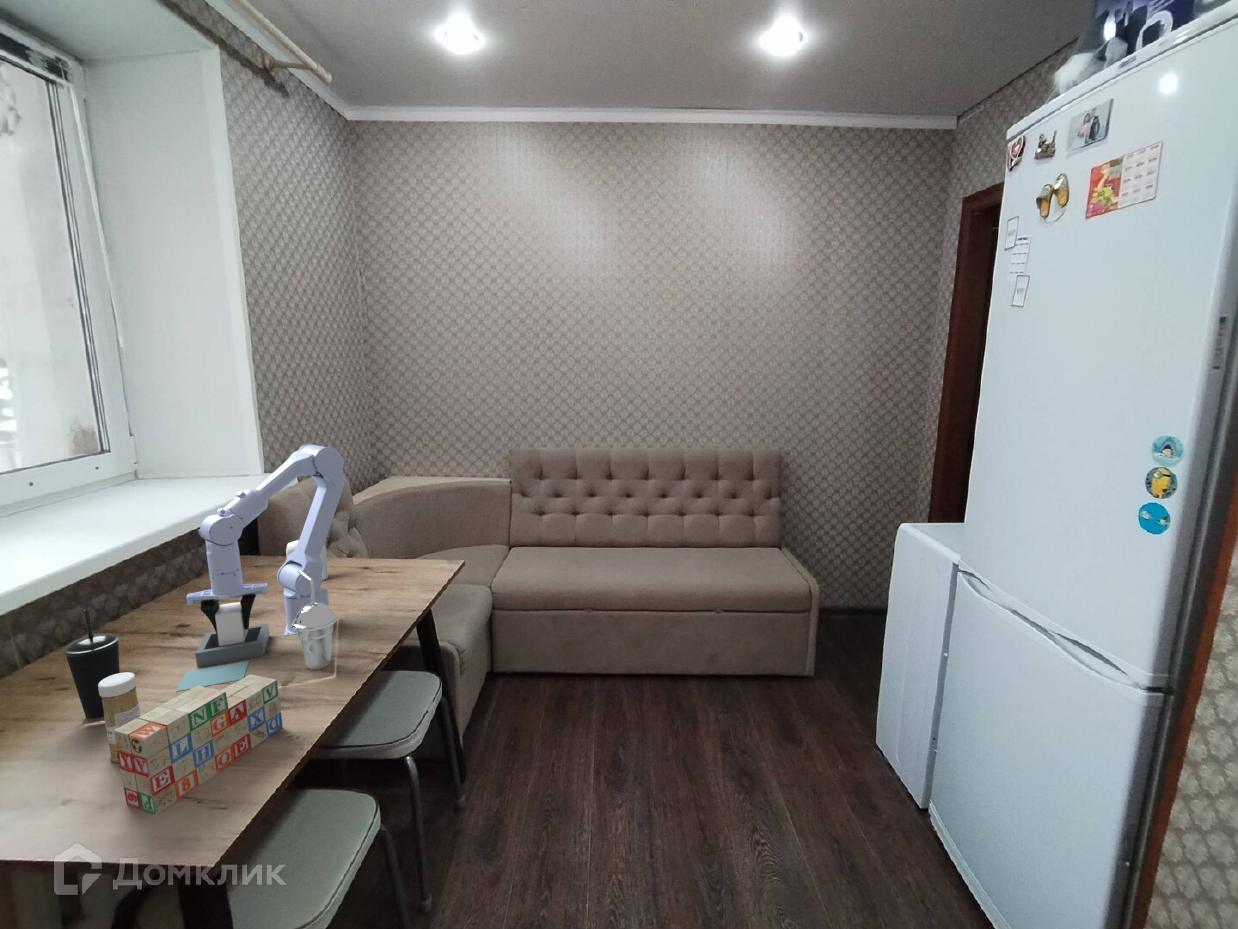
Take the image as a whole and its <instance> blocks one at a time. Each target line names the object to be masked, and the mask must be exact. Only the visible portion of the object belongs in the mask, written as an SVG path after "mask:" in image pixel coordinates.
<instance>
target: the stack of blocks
mask: <svg viewBox="0 0 1238 929" xmlns="http://www.w3.org/2000/svg"><path fill="white" fill-rule="evenodd" d="M278 687H279V686H278V680H277V679H274V678H271V677H267V676H261V675H255V674H251V673H250V674H248V675H247V676H244V678H243V679H241V680H238V681H235V682H234V683H232V684H230V685H228V686H227V687H225V688H222V689H221V690H220V689H216V688H210V687H207V686H206V687H202V686H196V687H194V688H192V689H190V690H185V692H183V693H182V694H179V695H178V696H176V697H174V698H172V699H169V700H168V701H167V702H164V703H163V704H161V705H159V706H157V707H155V708H154V709H152V710H150V711H148V712H147V713H146V712H145V713H144V714H141V715H140V717H139V718H137V719H134V720H132V721H130V722H128V723H127V724H125V725H123V726H121V727H119V728H117V729H115V730H114V734H115V739H116V745H117V750H116V752H117V757H118V762H117V763H118V767H119V770H120V775H121V780H122V783H123V784H122V785H123V791H124V797H125V803H126V805H127V806H130V807H133V808H135V809H138V810H142V811H145V812H148V813H151V814H154V815H157V814H159V813H161V812H162V811H164V810H165V809H167V808H168V807H170V805H172V804H174V803H175V802H177V801H179V800H180V799H182V798H183V797H184V796H186V795H187V794H190V792H192V791H194V790H195V789H196V788H198V787H199V786H200V785H202V784H203V783H205V782H206V781H208V780H210V779H211V778H212V777H214V776H215V775H217V774H218V773H219V772H220V771H222V770H223V769H224V768H226V767H227V766H229V765H230V764H233V762H234V761H236V760H237V759H239V758H240V757H242V756H243V755H244V754H246V753H247V752H249V751H250V750H251V749H252V750H253V748H255V747H257V746H258V745H260V744H261V743H262V742H264V741H265V740H267V739H268V738H270V737H271V736H272V735H274V734H276V732H278V731H279V730H281V729H283V726H284V725H283V719H282V718H283V717H282V711H281V710H282V706H281V699H280V695H279V688H278Z"/></svg>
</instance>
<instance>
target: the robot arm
mask: <svg viewBox="0 0 1238 929" xmlns="http://www.w3.org/2000/svg"><path fill="white" fill-rule="evenodd" d="M344 464H345V459H344V458H343V456H342V455H341V454H340V452H339V451H338V449H336V448H334V447H333V446H332V447H331V446H322V445H316V444H313V443H306V444H303V445H302V446H300V447H299V448H298V450H296V451H294V452H292V453H291V455H289V457H288V459H286V460H285V462H283V464H281V465H279V467H278V468H277V469H276V470H274V472H272V473H271V474H270V475H269V476H268V477H267V478H265V480H263V482H262V483H260V485H259V486H258V487H256V488H255V489H254V488H249V489H248V488H247V489H245V490H244V491H242V490H239V491H238V492H237V493H236V494H235V496H236V497H235V498H234V499H233V500H232V501H230V502H229V503H228V504H226V505H225V506H224V507H223V508H222V507H221V508H219V509H217V511H216V512H217V513H215V514H212V515H209V516H207V517H206V518H204V520H203V521H202V522H201V525H200V528H199V529H198V535H199V536H200V537H201V538H202V539H204V540H205V541H204V542H205V549H206V558H207V566H208V573H209V574H208V575H209V581H210V589H209V588H208V589H205V590H201V591H197V592H191V593H190V592H189V593H188V594H187V595H186V597H185V598H186V605H187V606H193V605H195V604H199V603H200V611H201V612H202V613H203V614H204V615H205V616H206V618H207V619H208V620H209V622H210V623H211V625H212V626H213V629H214V632H216V634H218V633H217V626H216V619H215V615H216V613H217V611H218V609H219V607H220V601H223V600H229V599H235V598H241V599H240V601H239V602H240V604H241V608H242V613H243V625H244V630H245V629H248V628H249V626H250V617H251V612H252V609H253V606H254V602H255V600H256V597H257V595H262V596H263V595H264V596H265V595H268V593H269V589H268V588H269V587H268V586H269V585H268V583H267V582H266V583H245V584H244V580H243V571H242V565H241V556H240V555H241V554H240V548H239V542H238V540H239V539H240V538H241V537H242V533H243V530H244V528H246V527H247V526H248V525H249V524H250V523H252V522H253V520H255V519H256V518H257V517H258V516H260V515H261V514H262V513H263V512H264V511H265V510H266V509H268V506H269V500H270V499H271V498H273V497H274V495H277V493H279V492H280V491H281V490H283V489H284V488H286V487H287V486H288V485H289V484H291V483H292V482H293V481H295V480H296V479H297V478H299V477H308V476H310V477H311V478H312V479H313V481H314V482H315V483H316V485H317V487H316V491H315V493H314V497H313V500H312V503H311V504H310V509H309V511H308V514H307V517H306V520H305V522H304V525H303V528H302V531H301V533H300V537H299V539H298V540H299V542H298V545H297V547H296V550H295V551H293V552H292V553H291V554H290V555H288V557H287V556H286V560H285V562H284V563H283V564H282V566H280V568H279V569H278V570H277V573H276V574H277V575H276V579H277V582H278V584H279V585H280V586H281V587H283V599H284V601H283V602H284V610H285V619H286V626H285V629H284V633H283V636H285V637H286V636H293V635H297V631H295V630H293V629H292V622H293V620H294V619H295V618H296V616H297V614H298V612H299V610H300V609H301V608H302V607H304V606H305V605H307V604H309V603H312V600H311V590H310V582H309V581H308V580H307V579H306V578H304V577H303V576H302V575H300V574H299V573H298V570H301V571H303V572H304V573H305V574H307V575H308V576H309V577H310V578H312V580H313V582H314V591H315V602H320V603H324V604H326V605H327V606H328V607H329V608H330V599H329V591H328V588H321V586H322V585H323V584H322V583H323V580H322V569H323V562H322V560H321V557H320V554H321V551H322V549H323V546H324V544H325V542H326V540H327V537H328V534H329V531H330V528H331V525H332V522H333V519H334V517H335V513H336V511H337V508H338V505H339V502H340V500H341V497H342V493H343V490H344V487H345V478H344V469H343V468H344Z"/></svg>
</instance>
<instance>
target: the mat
mask: <svg viewBox="0 0 1238 929" xmlns="http://www.w3.org/2000/svg"><path fill="white" fill-rule="evenodd" d="M249 663H250V660H243V661H238V662H232V663H227V664H220V665H216V666H210V667H204V668H198V669H192V670H186V672H185V673H184V675H183V678H182V680H181V681H180V683H179V685H178V687H177V689H176V691H175V692H176V693H178V692H182V691H188V690H190V689H192V688H194V687H196V686H202V687H206V688H207V687H209V686H215V685H221V684H226V683H227V684H228V683H231V682H237V681H239V680H241V679H243V678H245V675H246V673H247V669H248V666H249Z"/></svg>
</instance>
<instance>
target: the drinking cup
mask: <svg viewBox="0 0 1238 929" xmlns="http://www.w3.org/2000/svg"><path fill="white" fill-rule="evenodd" d="M83 614H84V621H85V626H86V632H87V633H86V634H87V635H86V636H83V637H81V638H78V639H76V640H75V641H73V642H71V643H68V644H67V645H66V646H64V647H63V649H62V654H63V655H64V656H66V660H67V663H68V666H69V667H68V668H69V669H70V672H71V673H70V674H72V675H71V676H72V679H73V682H74V684H75V687H76V688H75V689H76V691H77V694H78V698H79V700H80V703H81V707H82V710H83V712H84V716H85V718H86V719H99V718H104V710H103V703H102V698H101V696H100V695H99V689H98V684H99V682H100V681H102V680H103V679H105V678H107V677H109V676H111V675H114V674H118V673H121V671H120V650H119V649H120V648H119V645H120V644H119V643H120V640H121V636H120V635H118V634H116V633H94V632H93V626H92V622H91V615H90V609H89V608H86V609H83Z"/></svg>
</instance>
